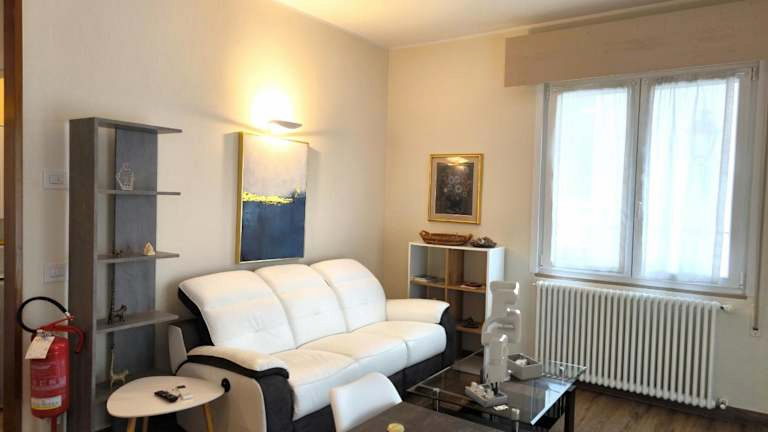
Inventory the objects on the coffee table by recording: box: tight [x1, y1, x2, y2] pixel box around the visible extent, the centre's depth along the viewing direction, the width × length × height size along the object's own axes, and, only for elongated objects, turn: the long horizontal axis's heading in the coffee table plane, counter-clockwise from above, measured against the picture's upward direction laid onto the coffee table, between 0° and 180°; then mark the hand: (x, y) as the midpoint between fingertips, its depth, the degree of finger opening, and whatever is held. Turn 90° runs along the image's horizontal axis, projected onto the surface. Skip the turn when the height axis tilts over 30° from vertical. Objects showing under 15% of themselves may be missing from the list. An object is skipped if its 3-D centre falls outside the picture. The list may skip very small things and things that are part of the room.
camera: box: [515, 352, 528, 366], centre depth 333 cm, size 15×8×10 cm, turn 148°
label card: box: [493, 404, 509, 411], centre depth 281 cm, size 7×4×1 cm, turn 113°
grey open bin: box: [508, 352, 543, 381], centre depth 333 cm, size 15×22×8 cm
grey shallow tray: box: [464, 383, 510, 408], centre depth 294 cm, size 15×20×4 cm
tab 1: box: [470, 381, 479, 391], centre depth 297 cm, size 4×4×5 cm
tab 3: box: [485, 390, 496, 399], centre depth 287 cm, size 4×4×5 cm
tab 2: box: [476, 386, 486, 395], centre depth 292 cm, size 4×4×5 cm
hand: (494, 393), depth 288 cm, fingers closed
